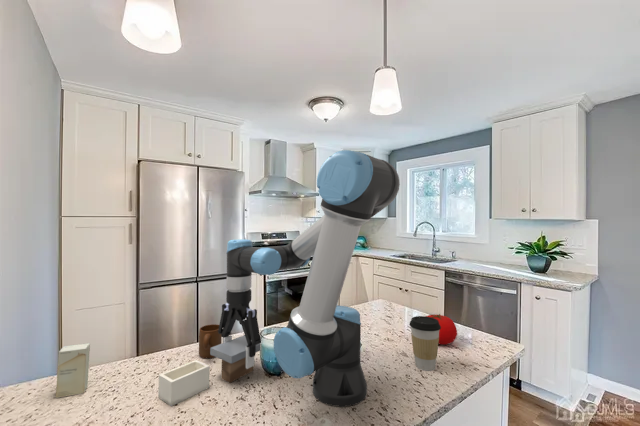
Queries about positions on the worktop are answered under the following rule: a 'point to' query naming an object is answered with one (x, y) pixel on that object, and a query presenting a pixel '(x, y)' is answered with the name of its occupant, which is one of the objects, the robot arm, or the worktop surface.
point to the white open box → (183, 382)
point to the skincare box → (72, 370)
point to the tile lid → (232, 350)
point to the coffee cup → (425, 341)
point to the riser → (234, 370)
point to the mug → (208, 339)
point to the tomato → (445, 329)
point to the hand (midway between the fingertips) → (238, 362)
